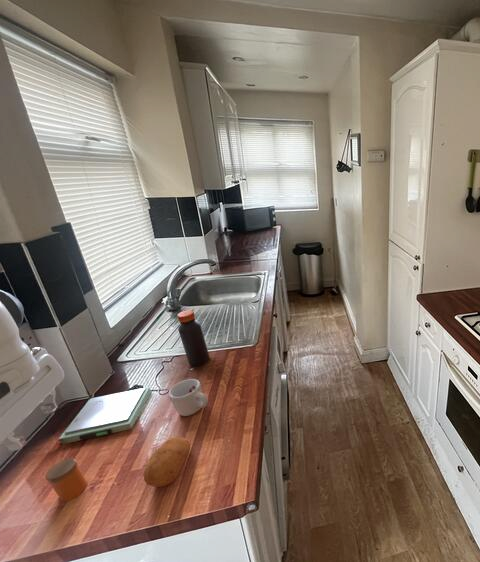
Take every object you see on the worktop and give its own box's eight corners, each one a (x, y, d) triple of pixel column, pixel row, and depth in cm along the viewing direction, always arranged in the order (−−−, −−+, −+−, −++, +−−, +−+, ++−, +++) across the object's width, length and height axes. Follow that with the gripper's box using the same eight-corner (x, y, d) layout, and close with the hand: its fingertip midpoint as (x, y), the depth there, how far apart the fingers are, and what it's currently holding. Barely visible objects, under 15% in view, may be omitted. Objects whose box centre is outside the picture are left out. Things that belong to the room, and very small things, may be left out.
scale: (60, 446, 80) (56, 439, 79) (92, 404, 94) (88, 397, 93) (130, 430, 84) (127, 423, 83) (151, 392, 98) (148, 385, 97)
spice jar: (54, 504, 67) (39, 482, 64) (67, 483, 71) (54, 461, 68) (80, 497, 68) (67, 475, 65) (92, 477, 72) (80, 455, 69)
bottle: (200, 368, 109) (185, 319, 101) (184, 365, 111) (169, 317, 103) (214, 357, 115) (201, 309, 107) (199, 354, 117) (185, 307, 109)
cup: (219, 403, 93) (213, 382, 90) (199, 424, 86) (192, 402, 83) (191, 397, 96) (184, 376, 93) (169, 416, 89) (161, 395, 86)
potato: (142, 499, 67) (128, 475, 65) (171, 452, 79) (161, 430, 77) (175, 491, 68) (163, 467, 65) (199, 445, 80) (190, 423, 78)
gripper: (22, 345, 65) (50, 396, 71) (-76, 417, 47) (-28, 478, 52) (58, 340, 67) (83, 390, 72) (-23, 407, 49) (18, 467, 54)
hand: (36, 427), depth 62 cm, fingers open, 8 cm apart
